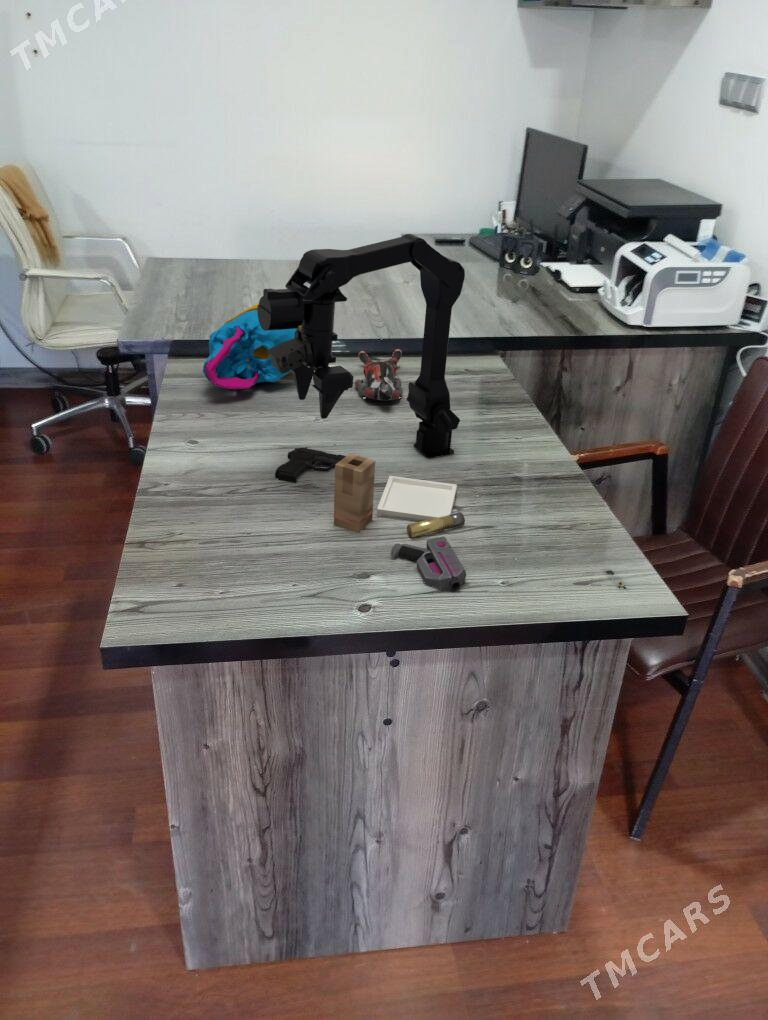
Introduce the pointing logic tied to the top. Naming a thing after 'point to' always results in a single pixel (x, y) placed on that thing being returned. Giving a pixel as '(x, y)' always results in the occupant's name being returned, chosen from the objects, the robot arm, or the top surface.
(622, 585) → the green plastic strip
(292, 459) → the handgun
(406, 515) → the tray
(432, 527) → the bullet cartridge
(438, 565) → the toy gun
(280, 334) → the anatomical model
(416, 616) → the top surface
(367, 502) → the brown tall hollow block
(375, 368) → the action figure
